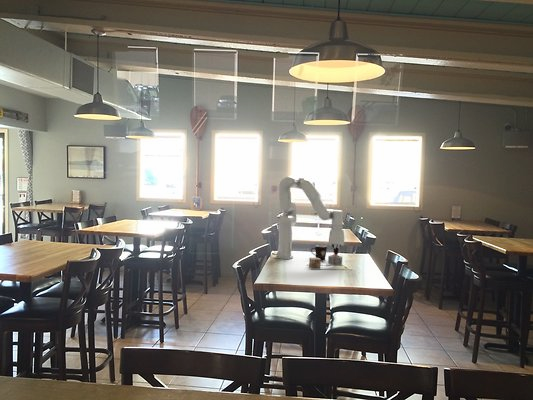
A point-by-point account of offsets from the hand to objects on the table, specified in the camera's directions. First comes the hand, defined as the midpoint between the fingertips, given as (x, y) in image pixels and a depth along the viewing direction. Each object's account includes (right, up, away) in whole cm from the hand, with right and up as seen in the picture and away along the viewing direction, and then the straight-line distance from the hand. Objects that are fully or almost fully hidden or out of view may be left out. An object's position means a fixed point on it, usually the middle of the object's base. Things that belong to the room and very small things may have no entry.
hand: (335, 253), depth 307 cm
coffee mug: (-11, -6, +13) cm, 18 cm away
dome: (0, -6, 0) cm, 6 cm away
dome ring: (-1, -7, 0) cm, 7 cm away
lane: (-8, -7, -15) cm, 19 cm away
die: (-17, -7, -17) cm, 24 cm away
